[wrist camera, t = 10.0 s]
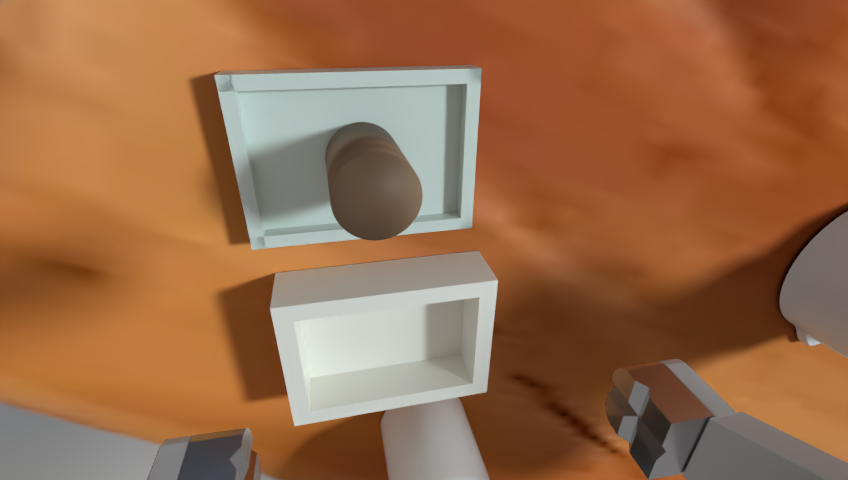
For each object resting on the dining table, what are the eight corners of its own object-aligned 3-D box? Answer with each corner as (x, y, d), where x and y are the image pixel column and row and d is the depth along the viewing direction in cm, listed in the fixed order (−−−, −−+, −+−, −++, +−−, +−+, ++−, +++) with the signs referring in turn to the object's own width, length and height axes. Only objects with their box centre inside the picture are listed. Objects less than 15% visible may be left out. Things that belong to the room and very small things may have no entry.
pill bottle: (447, 448, 42) (485, 576, 32) (370, 446, 39) (388, 585, 30) (475, 390, 39) (526, 513, 29) (393, 384, 36) (421, 517, 27)
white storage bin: (478, 250, 32) (498, 280, 28) (470, 356, 37) (486, 392, 33) (275, 273, 29) (269, 308, 26) (296, 383, 34) (294, 426, 30)
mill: (397, 119, 25) (422, 150, 20) (399, 189, 27) (423, 234, 22) (321, 124, 24) (325, 157, 19) (329, 195, 27) (335, 245, 21)
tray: (472, 65, 25) (481, 68, 24) (464, 217, 30) (471, 227, 29) (220, 71, 23) (214, 75, 21) (255, 237, 28) (252, 249, 26)
